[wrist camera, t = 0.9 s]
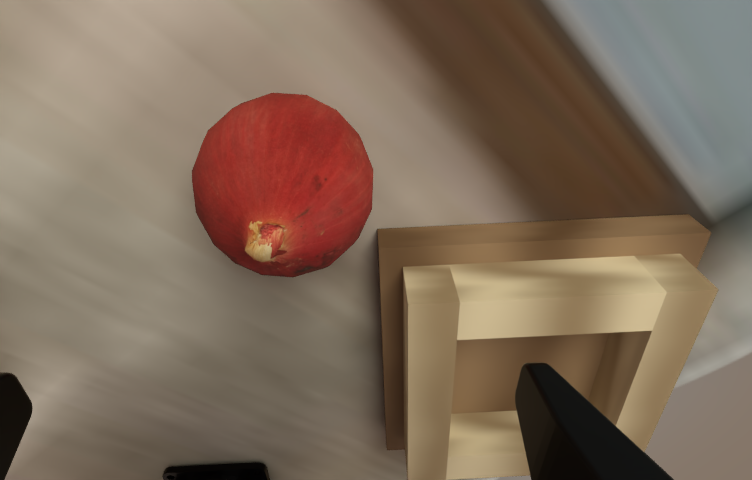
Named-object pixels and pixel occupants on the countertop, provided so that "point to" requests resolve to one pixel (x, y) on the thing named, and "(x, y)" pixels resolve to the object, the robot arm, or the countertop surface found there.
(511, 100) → the countertop surface
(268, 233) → the onion
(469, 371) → the cradle board
